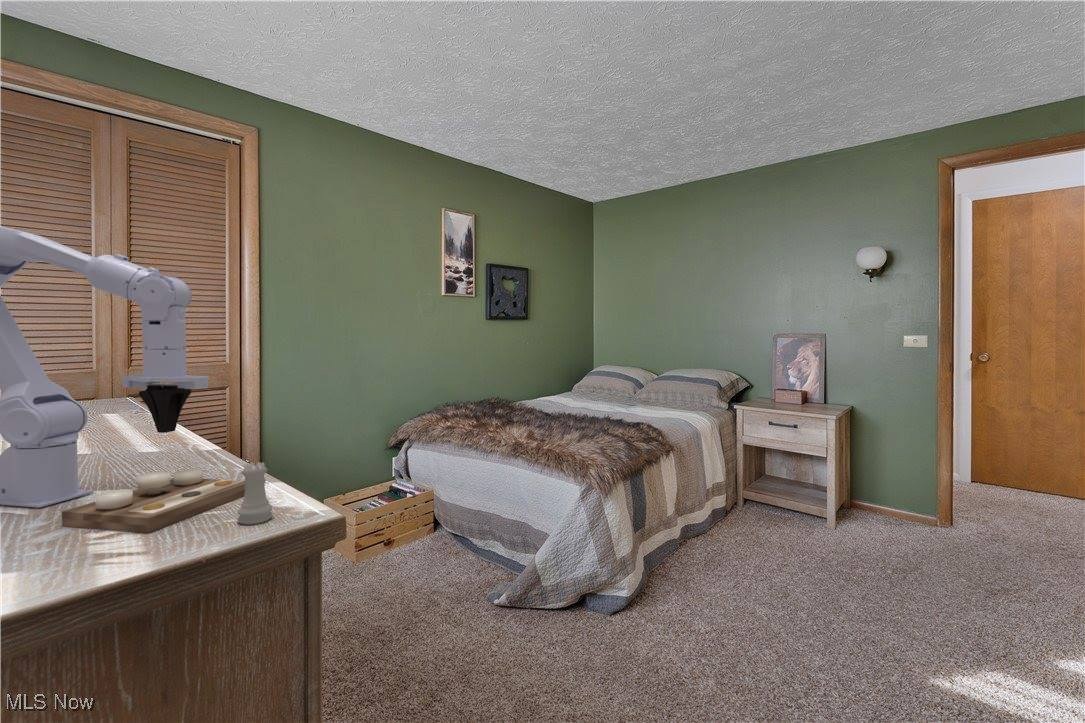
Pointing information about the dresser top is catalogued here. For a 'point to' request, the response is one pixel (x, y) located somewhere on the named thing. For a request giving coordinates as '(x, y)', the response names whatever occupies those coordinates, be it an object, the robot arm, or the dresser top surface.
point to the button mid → (153, 481)
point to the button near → (114, 499)
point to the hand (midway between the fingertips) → (166, 431)
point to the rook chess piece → (254, 496)
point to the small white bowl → (188, 477)
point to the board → (157, 507)
